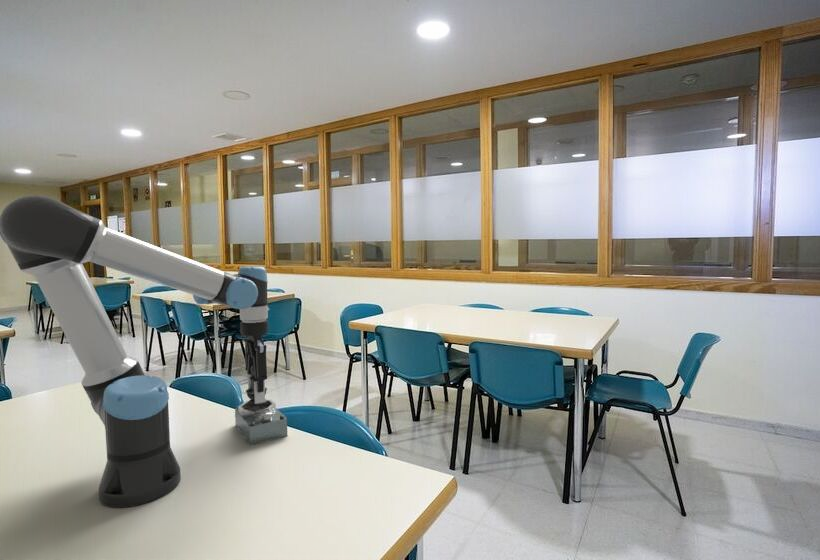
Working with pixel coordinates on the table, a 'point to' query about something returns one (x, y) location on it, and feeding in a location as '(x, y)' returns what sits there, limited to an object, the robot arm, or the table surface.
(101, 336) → the robot arm
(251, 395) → the dark grey tapered piece
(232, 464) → the table surface
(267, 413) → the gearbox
